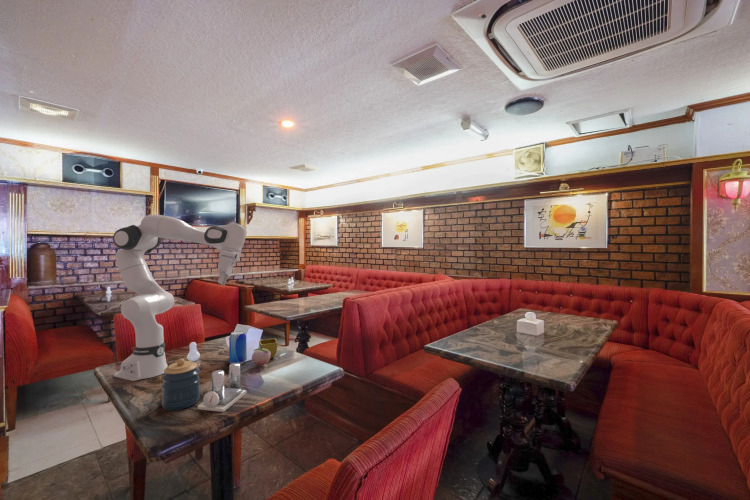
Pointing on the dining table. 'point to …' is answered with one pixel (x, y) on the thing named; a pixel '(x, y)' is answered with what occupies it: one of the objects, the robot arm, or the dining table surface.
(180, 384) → the canister
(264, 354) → the decorative fruit
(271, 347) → the flower pot
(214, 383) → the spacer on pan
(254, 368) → the dining table surface
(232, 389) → the grey square plate
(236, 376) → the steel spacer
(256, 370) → the dining table surface
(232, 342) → the beer can
